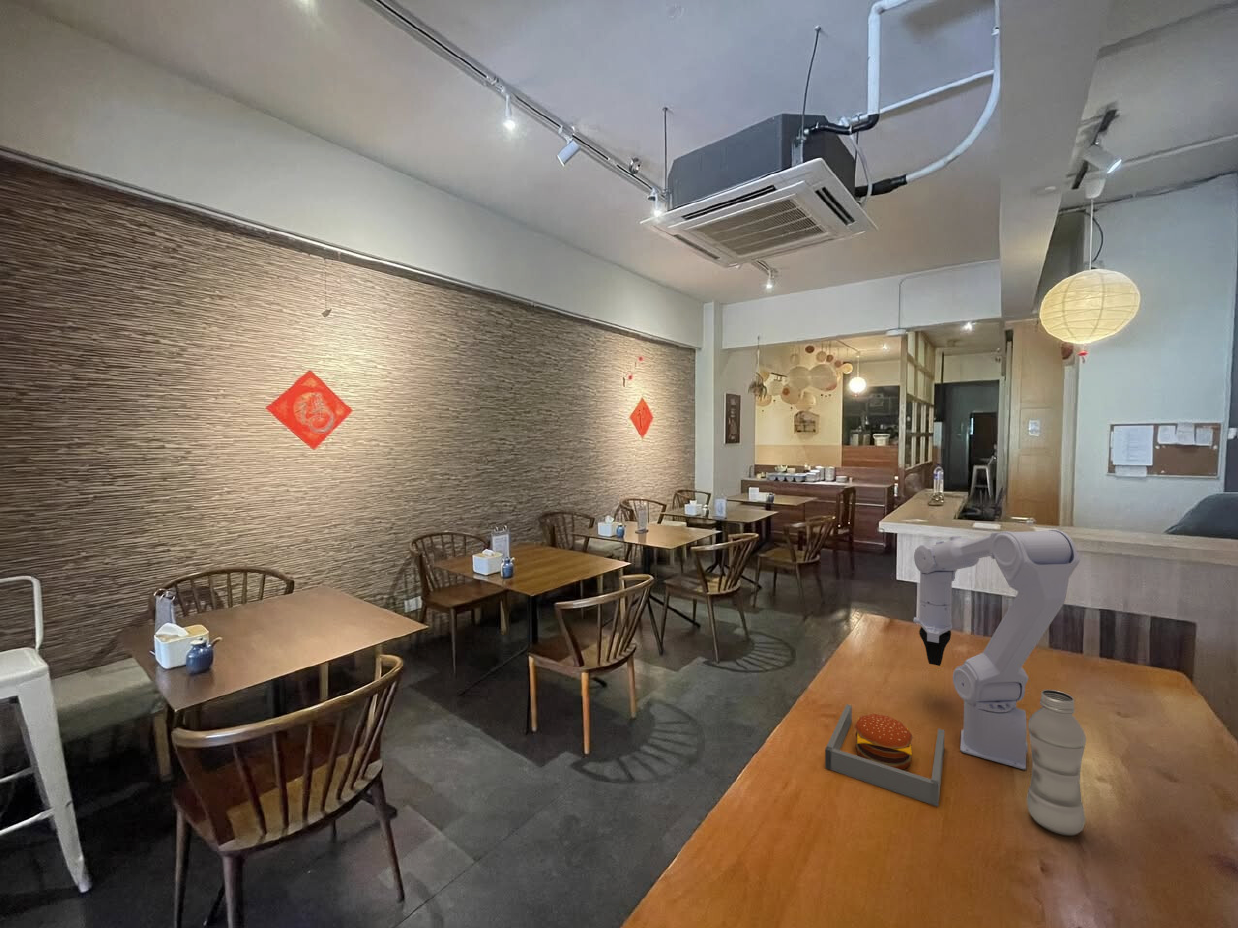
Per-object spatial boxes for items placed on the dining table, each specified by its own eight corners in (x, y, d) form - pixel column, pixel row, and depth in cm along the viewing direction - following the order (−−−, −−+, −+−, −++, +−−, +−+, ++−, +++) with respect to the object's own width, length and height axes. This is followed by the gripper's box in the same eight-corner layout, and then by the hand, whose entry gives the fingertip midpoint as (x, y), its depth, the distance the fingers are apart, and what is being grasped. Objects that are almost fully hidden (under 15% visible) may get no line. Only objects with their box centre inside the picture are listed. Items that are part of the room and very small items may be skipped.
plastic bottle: (1096, 845, 72) (1100, 708, 71) (1041, 839, 73) (1045, 704, 72) (1066, 812, 78) (1069, 686, 77) (1016, 807, 80) (1019, 683, 79)
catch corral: (944, 748, 95) (944, 730, 95) (938, 806, 80) (938, 785, 80) (846, 720, 105) (846, 703, 104) (825, 767, 90) (825, 748, 90)
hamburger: (853, 735, 100) (853, 702, 99) (909, 747, 96) (910, 713, 95) (854, 764, 91) (854, 728, 91) (915, 778, 87) (916, 740, 87)
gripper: (917, 589, 116) (916, 647, 117) (910, 607, 104) (909, 672, 105) (953, 594, 112) (952, 654, 113) (951, 614, 100) (950, 680, 101)
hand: (934, 663), depth 109 cm, fingers closed
